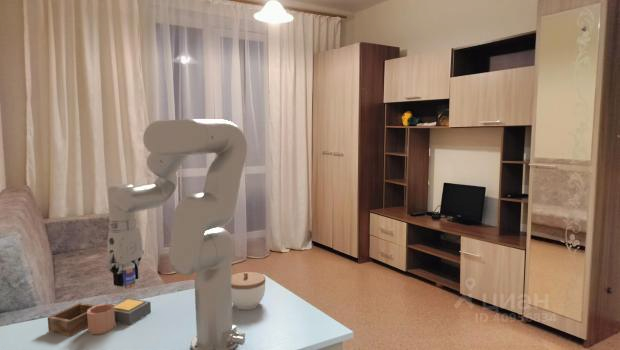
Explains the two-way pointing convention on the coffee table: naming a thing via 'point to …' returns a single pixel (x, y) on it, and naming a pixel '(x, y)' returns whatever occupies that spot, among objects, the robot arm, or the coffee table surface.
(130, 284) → the pill bottle
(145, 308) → the grey square tray
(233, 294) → the lidded bowl
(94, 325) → the octagonal terracotta pot
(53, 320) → the trough
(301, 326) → the coffee table surface
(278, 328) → the coffee table surface
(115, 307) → the pad
